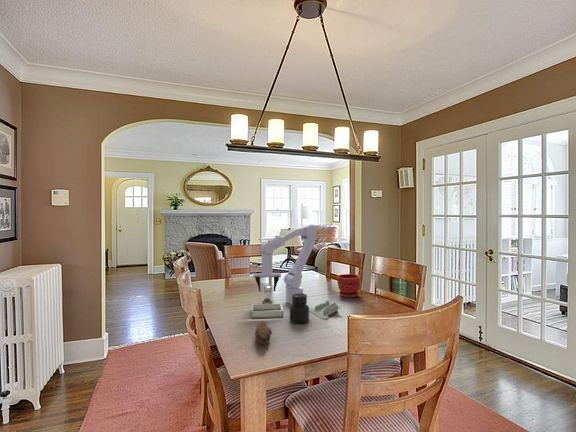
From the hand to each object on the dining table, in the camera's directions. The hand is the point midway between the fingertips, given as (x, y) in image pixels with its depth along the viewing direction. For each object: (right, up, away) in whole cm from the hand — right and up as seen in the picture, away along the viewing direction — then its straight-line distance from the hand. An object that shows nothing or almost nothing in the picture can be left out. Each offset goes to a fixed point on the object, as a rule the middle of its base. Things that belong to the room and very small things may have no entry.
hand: (267, 291), depth 167 cm
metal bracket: (+30, -9, -10) cm, 33 cm away
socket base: (0, -8, 0) cm, 8 cm away
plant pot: (+47, -8, +22) cm, 53 cm away
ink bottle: (+16, -9, -21) cm, 28 cm away
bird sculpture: (+1, -9, -42) cm, 43 cm away
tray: (+1, -9, -12) cm, 15 cm away
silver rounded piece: (0, -7, 0) cm, 7 cm away
